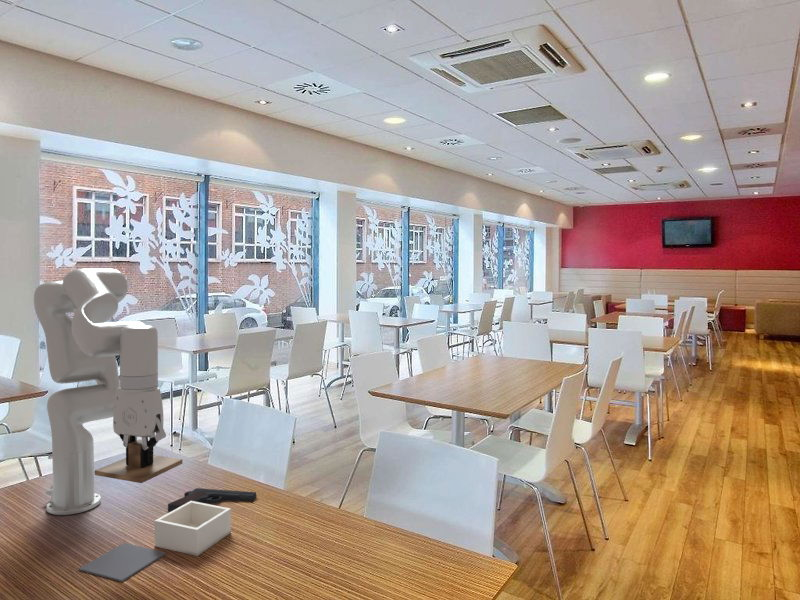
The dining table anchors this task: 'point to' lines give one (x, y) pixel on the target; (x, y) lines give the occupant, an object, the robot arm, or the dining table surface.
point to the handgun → (211, 497)
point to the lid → (137, 466)
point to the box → (192, 527)
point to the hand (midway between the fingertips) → (139, 463)
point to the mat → (122, 562)
